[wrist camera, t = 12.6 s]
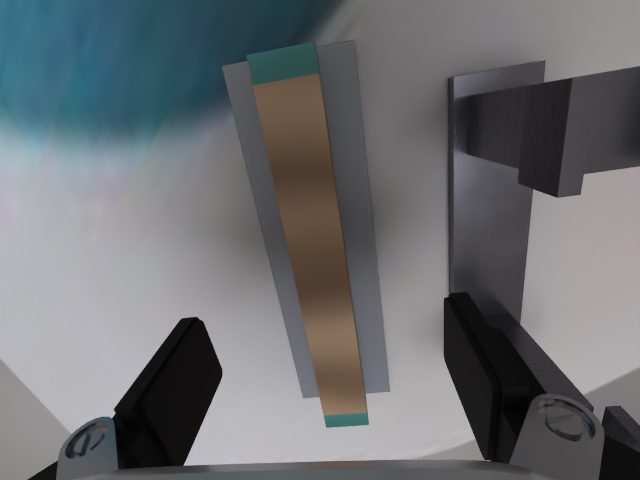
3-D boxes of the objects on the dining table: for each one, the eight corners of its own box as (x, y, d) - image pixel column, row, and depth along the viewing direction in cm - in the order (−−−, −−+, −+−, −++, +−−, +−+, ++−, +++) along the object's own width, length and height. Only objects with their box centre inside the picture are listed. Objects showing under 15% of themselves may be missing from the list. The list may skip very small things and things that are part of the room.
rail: (261, 66, 16) (246, 55, 13) (318, 54, 16) (314, 41, 13) (327, 392, 24) (326, 427, 22) (365, 389, 24) (368, 424, 21)
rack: (440, 80, 16) (578, 30, 7) (543, 61, 16) (841, -20, 6) (444, 356, 23) (516, 515, 14) (516, 350, 23) (641, 511, 13)
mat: (225, 67, 17) (221, 66, 16) (353, 42, 16) (354, 39, 15) (303, 391, 25) (303, 398, 25) (388, 385, 25) (390, 391, 24)
